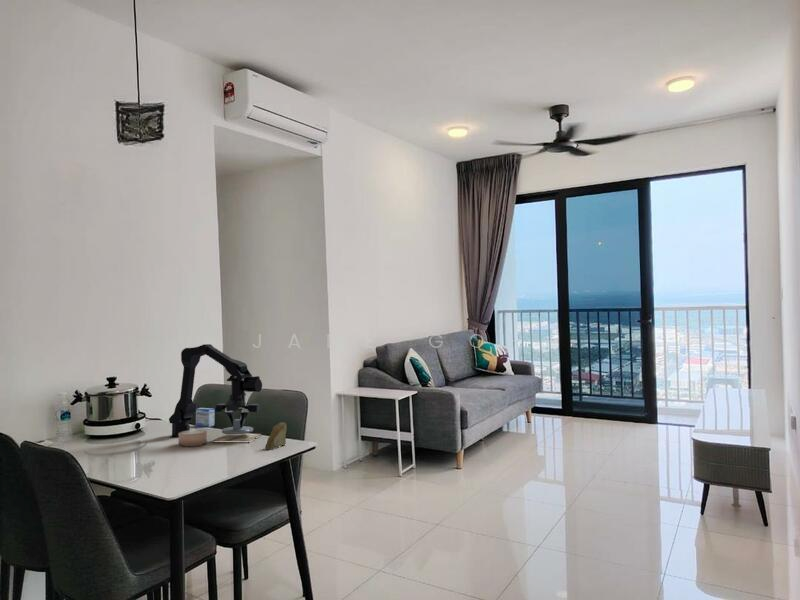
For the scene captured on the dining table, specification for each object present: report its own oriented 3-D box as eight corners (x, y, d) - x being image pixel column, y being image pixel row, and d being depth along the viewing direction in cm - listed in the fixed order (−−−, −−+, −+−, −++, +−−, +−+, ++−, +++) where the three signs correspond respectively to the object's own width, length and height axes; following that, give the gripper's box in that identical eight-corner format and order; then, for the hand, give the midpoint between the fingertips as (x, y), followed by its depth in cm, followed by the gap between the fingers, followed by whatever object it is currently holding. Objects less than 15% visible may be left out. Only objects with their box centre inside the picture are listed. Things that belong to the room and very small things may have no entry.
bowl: (173, 447, 218) (173, 434, 218) (186, 441, 229) (186, 429, 229) (199, 447, 217) (199, 434, 217) (211, 441, 228) (211, 429, 228)
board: (213, 442, 226) (213, 440, 226) (226, 435, 240) (226, 433, 240) (249, 442, 225) (249, 440, 225) (261, 436, 239) (261, 433, 239)
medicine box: (195, 426, 265) (195, 408, 265) (201, 424, 269) (201, 407, 269) (209, 427, 262) (209, 409, 263) (214, 425, 267) (214, 407, 267)
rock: (268, 445, 208) (292, 438, 214) (261, 426, 212) (285, 420, 218) (262, 458, 216) (286, 451, 221) (256, 439, 220) (279, 433, 225)
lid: (216, 434, 227) (217, 422, 227) (229, 428, 239) (229, 417, 240) (246, 434, 225) (246, 422, 226) (257, 428, 238) (257, 417, 239)
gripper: (209, 393, 226) (208, 431, 225) (252, 393, 225) (252, 431, 224) (220, 390, 237) (219, 426, 236) (261, 390, 236) (261, 426, 235)
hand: (237, 427), depth 233 cm, fingers closed on lid, 3 cm apart
